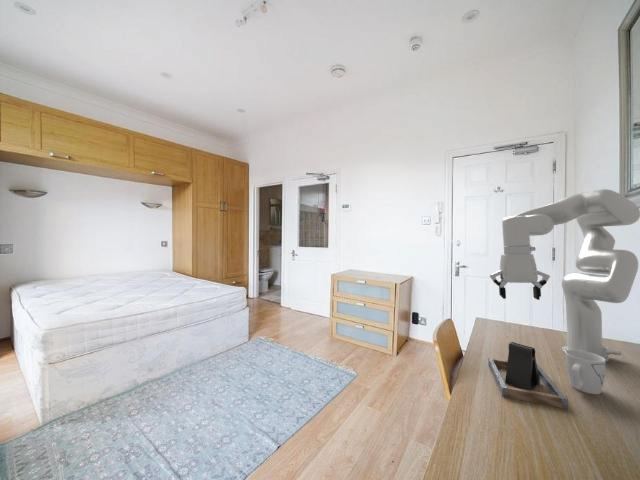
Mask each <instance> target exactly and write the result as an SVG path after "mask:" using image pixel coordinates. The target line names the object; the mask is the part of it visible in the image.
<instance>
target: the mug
mask: <svg viewBox="0 0 640 480" xmlns="http://www.w3.org/2000/svg"><path fill="white" fill-rule="evenodd" d="M564 357H565V365H566V369H567V370H566V371H567V375H568V378H569V382H570V385H571V386H572V388H574V389H576V390H577V391H578V392H579V391H580V392H582V393H585V394H590V395H600V394H601V393H602V390H603V388H604V387H603V386H604V382H605V377H606V365H607V364H606V363H607V362H606V361H605V359H604V358H603V357H601V356H599V355H597V354H594V353H590V352H586V351H581V350H566V351H565V353H564Z"/></svg>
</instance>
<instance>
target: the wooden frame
mask: <svg viewBox="0 0 640 480" xmlns="http://www.w3.org/2000/svg"><path fill="white" fill-rule="evenodd" d="M487 361H488V366H489V369H490V371H491V374H492V377H494V380H495V382H496V385H497V387H498V389H499V391H500V394H501V396H502V397H505V398H510V399H515V400H520V401H525V402H529V403H535V404H540V405H546V406H550V407H551V406H552V407H555V408H561V409H566V410H568V409H569V405H568V404H569V403H568V398H567V397H566V396H565V394H564V393H563V392H562V391H561V390H560V389H559V388H558V387H557V385H556V384H555V383H554V381H553V380H552V379H551V378H550V377H549V376H548V374H547V373H546V371H544V369H542V367H541V366H540V365H539V364H537V368H538V373H539V378H540V382H541V383H542V384H543V385H544V387H545V388H546V389H547V390H548V391H549V393H547V392H546V393H545V392H541V391H540V392H539V391H536V390H534V391H533V390H531V391H530V390H524V389H519V388H516V387H514V386H506V385H507V384H506V383H505V380H504V379H503V377H502V375H501V373H500V371H499V369H506V370H507V363H508V359H507V360H505V359H500V358H499V359H498V358H491V357H488V359H487Z"/></svg>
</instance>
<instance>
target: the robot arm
mask: <svg viewBox="0 0 640 480" xmlns="http://www.w3.org/2000/svg"><path fill="white" fill-rule="evenodd" d="M575 219H576V222H577V224H578V226H579V228H580V230H581V232H582V235H583V240H582V244H581V246H580V250H579V251H578V254H577V256H576V260H575V267H576V268H577V270H579V271H581V272H580V273H579V272H573V273H572V272H571V273H569V274H566V275H564V277H563V278H562V280H561V288H562V291H563V294H564V300H565V310H566V312H565V314H566V317H565V318H566V319H565V320H566V344H567V345H564V346H562V347H561V350H562V352H563V353H564V354H565V351H566V350H581V351H586V352H590V353H594V354H597V355H599V356H601V357H603V358H604V359H605V361H606V363H607V362H609V361H610V355H613V356H622V355H623V354H622V351H621V350H620V349H615V348H614V349H613V348H612V347H608V346H607V347H606V346H604V345H603V320H602V318H603V317H602V316H603V315H602V310H601V308H600V306H599V304H597V302H596V301H600V302H603V303H609V304H610V303H611V304H621V303H623V302H625V301H626V300H627V299H628V297H629V296H630V293H631V291H632V289H633V288H632V287H633V285H634V282H635V279H636V276H637V273H638V270H639V260H638V256H636V254H635V253H634V252H632V251H630V250H627V249H614V247H615V244H616V240H615V238H614V236H613V235H612V234H611V233H610V231H608V230H607V229H606V228H605V227H617V226H618V227H619V226H622V227H623V226H630V225H633V224H635V223H636V222H638V221H639V219H640V208H639V207H638V205H636V203H635V202H633V201H631V200H630V199H628V198H627V197H625V196H624V195H622V194H621V193H619V192H616V191H614V190H612V189H607V188H603V189H596V190H590V191H584V192H578V193H574V194H571V195H569V196H567V197H563V198H562V199H559V200H557V201H555V202H552V203H549V204H545V205H542V206H539V207H536V208H533V209H530V210H526V211H522V212H520V213H518V214H516V215H513V216H506V217H504V218H503V219H502V221H501V223H502V224H501V225H502V238H503V239H502V240H503V254H501V255H500V263H499V270H498V271H496V272H494V273H491V274H489V278H490V279H491V281H493V283H494V284H495V285H496V286H498V291H499V293H498V294H499V296H500V297H501V298H502V299H503V300H504V299H505V300H506V299H507V294H506V293H507V291H506V288H505V286H506V285H507V284H508V283H509V284H510V283H511V284H513V283H514V284H517V283H518V284H520V283H521V284H529V283H530V284H532V285H533V287H532V293H533V294H532V295H533V298H534V299H535V300H537V301H540V298H541V297H542V290H541V289H542V288H543V287H544V286H545V285H546V284H547V282H548V281H549V279H550V277H551V276H550V274H547V273H545V272H542V271H539V270H537V269H538V268H537V263H536V261H535V260H536V259H535V257H534V254H532V252H533V251H536V247H535V246H532V245H531V238H530V237H532V236H533V237H534V236H535V237H536V236H544V235H548V234H549V233H550V232H552V231H553V229H554V226H558V225H563V224H566V223H568V222H570V221H573V220H575ZM540 276H541V279H540V280H539V281H538V279H539V277H540ZM497 277H500V280H498V279H497Z"/></svg>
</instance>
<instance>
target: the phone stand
mask: <svg viewBox="0 0 640 480" xmlns="http://www.w3.org/2000/svg"><path fill="white" fill-rule="evenodd" d="M507 356H508V357H507V361H508V363H507V369H506V373H505V380H504V383H505V384H506V385H509V386H511V387H513V388H519V389H524V390H530V391H533V390H534V389H535V388H537V386H539V385H540V384H541V380H540V378H539V373H538V368H537V365H538V363H537V357H536V349H535V348H534V347H531V346H528V345H525V344H524V345H523V344H521V343H517V342H514V341H511V342H509V343H508V355H507Z"/></svg>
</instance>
